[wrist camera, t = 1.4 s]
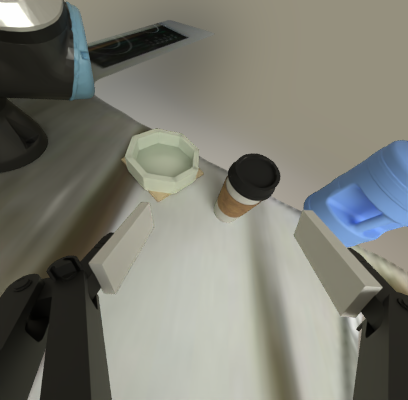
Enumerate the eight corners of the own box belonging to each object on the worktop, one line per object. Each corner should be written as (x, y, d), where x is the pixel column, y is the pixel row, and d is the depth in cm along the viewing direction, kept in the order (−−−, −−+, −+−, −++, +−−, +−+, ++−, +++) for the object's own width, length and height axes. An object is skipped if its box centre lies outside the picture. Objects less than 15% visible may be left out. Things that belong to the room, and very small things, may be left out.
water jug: (305, 186, 49) (439, 88, 26) (352, 214, 48) (536, 137, 25) (297, 226, 41) (485, 134, 17) (353, 260, 40) (636, 211, 16)
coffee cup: (249, 217, 39) (292, 180, 26) (223, 235, 35) (259, 201, 22) (228, 191, 41) (258, 145, 29) (201, 204, 37) (223, 158, 25)
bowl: (117, 159, 38) (112, 142, 34) (169, 138, 45) (171, 123, 41) (157, 206, 34) (157, 193, 30) (206, 175, 42) (211, 161, 38)
